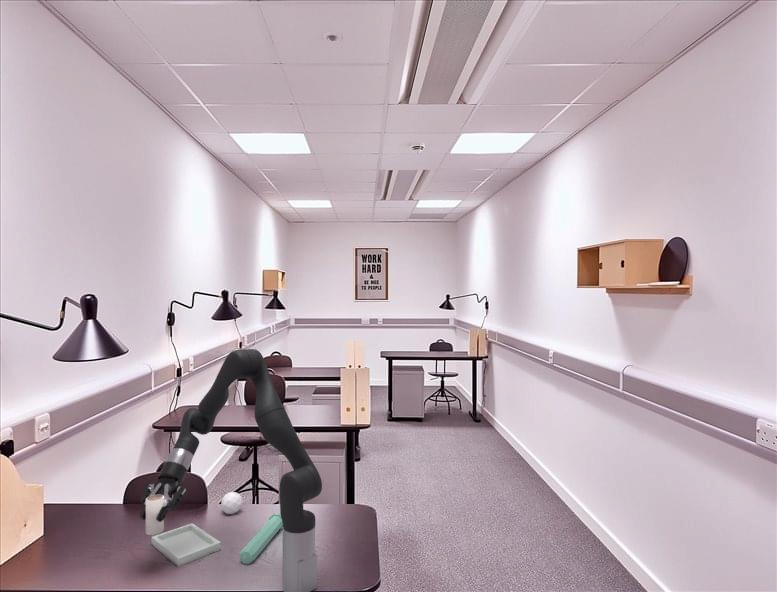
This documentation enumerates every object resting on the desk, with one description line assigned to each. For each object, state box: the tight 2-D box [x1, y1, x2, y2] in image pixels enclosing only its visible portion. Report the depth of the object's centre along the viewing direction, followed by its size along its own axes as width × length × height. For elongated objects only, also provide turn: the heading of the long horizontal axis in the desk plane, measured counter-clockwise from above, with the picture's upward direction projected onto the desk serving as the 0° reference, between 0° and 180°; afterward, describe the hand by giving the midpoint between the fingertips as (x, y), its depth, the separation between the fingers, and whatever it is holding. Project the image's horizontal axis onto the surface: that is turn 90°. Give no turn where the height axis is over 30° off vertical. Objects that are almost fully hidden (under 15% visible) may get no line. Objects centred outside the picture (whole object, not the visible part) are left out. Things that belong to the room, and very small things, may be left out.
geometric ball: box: [220, 491, 243, 515], centre depth 189 cm, size 8×8×8 cm
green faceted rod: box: [239, 513, 283, 565], centre depth 164 cm, size 6×6×25 cm
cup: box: [145, 494, 165, 536], centre depth 148 cm, size 5×5×10 cm
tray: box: [151, 522, 222, 568], centre depth 162 cm, size 20×14×2 cm
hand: (150, 519), depth 146 cm, fingers closed on cup, 5 cm apart
